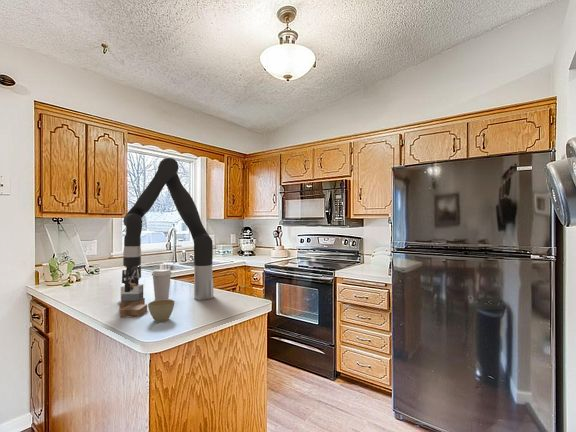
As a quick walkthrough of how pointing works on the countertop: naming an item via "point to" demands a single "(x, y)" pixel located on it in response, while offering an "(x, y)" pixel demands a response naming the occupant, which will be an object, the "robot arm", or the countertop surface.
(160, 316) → the beige round bowl
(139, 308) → the stand
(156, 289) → the coffee cup
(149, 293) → the countertop surface
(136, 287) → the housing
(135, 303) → the stand
